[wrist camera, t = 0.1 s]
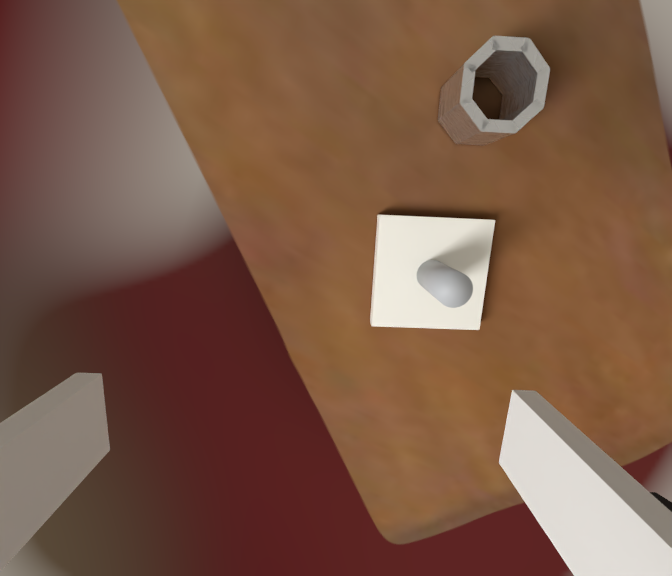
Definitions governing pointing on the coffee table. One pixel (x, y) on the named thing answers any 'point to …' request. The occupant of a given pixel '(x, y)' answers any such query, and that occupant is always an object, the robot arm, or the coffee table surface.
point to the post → (430, 271)
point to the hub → (511, 81)
